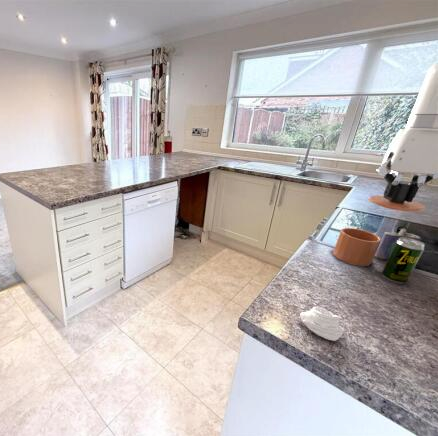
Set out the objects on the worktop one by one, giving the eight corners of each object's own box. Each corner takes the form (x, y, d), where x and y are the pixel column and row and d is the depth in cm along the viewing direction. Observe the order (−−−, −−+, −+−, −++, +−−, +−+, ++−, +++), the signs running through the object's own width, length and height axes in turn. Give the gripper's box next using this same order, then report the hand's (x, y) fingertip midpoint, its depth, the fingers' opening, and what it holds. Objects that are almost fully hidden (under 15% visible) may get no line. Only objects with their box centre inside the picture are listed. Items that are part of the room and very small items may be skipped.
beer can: (377, 271, 73) (393, 235, 69) (399, 275, 72) (417, 238, 67) (387, 282, 69) (405, 244, 64) (410, 286, 67) (431, 248, 63)
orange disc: (404, 201, 68) (414, 179, 65) (435, 215, 58) (448, 190, 56) (359, 198, 70) (367, 176, 67) (382, 211, 60) (392, 186, 58)
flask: (376, 258, 80) (389, 229, 76) (371, 254, 83) (384, 225, 78) (410, 263, 78) (426, 233, 74) (404, 259, 80) (419, 229, 76)
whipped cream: (295, 328, 54) (298, 312, 52) (302, 310, 58) (306, 294, 56) (340, 348, 49) (346, 330, 47) (344, 326, 53) (350, 309, 51)
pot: (360, 252, 84) (369, 229, 81) (377, 268, 75) (389, 243, 72) (328, 248, 86) (335, 226, 83) (341, 263, 77) (350, 239, 74)
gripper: (459, 124, 58) (424, 198, 65) (378, 122, 61) (352, 193, 68) (492, 125, 51) (448, 207, 58) (398, 123, 54) (368, 201, 62)
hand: (397, 199), depth 63 cm, fingers closed on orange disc, 3 cm apart
